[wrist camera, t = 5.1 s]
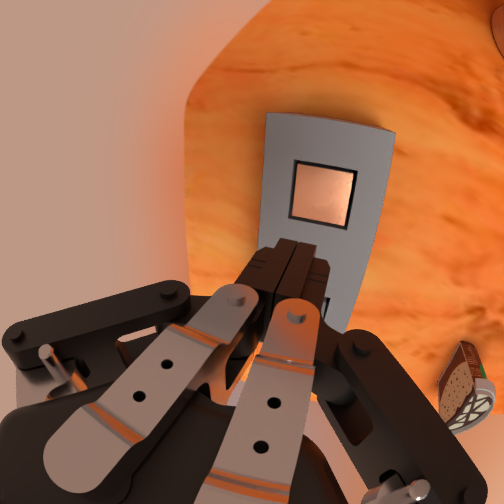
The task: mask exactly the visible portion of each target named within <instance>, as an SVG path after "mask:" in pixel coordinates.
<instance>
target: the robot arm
mask: <svg viewBox="0 0 504 504" xmlns="http://www.w3.org/2000/svg"><path fill="white" fill-rule="evenodd" d="M491 24H492V31H493V35H494V39H495V41H496V44H497V46H498V48H499V50H500V52H501V54H502V55H503V57H504V5H503V6H501V7H499V8H498V9H497V10H495V11H494V13H493V15H492V21H491ZM316 249H317V245H313V244H309V243H304V242H299V243H298V241H295V240H290V239H285V238H280V239H279V241H278V242H277V244H276V246H275V247H274V248H270V247H266V246H265V247H264V248H262V249H260V250H258V251H256V253H255V254H254V255H253V257H252V258H251V260H250V261H249V263H248V264H247V266H246V267H245V268H244V270H243V271H242V273H241V274H240V276H239V277H238V278H237V280H236V281H235V283H234V284H228V285H225V286H223V287H221V288H219V289H218V290H217V291H216V292H215V293H214V294H213V295H212V296H194V295H190V290H189V287H188V286H187V285H186V284H185V283H183V282H180V281H176V280H166V281H162V282H158V283H155V284H151V285H148V286H144V287H141V288H137V289H134V290H130V291H127V292H124V293H120V294H116V295H113V296H109V297H106V298H102V299H99V300H95V301H92V302H88V303H85V304H81V305H78V306H74V307H71V308H67V309H63V310H60V311H56V312H53V313H49V314H45V315H42V316H39V317H35V318H32V319H28V320H24V321H20V322H17V323H15V324H13V325H12V326H10V327H9V328H8V329H7V330H6V332H5V333H4V335H3V338H2V346H3V348H4V350H5V351H6V353H7V354H8V355H9V357H10V358H11V360H12V361H13V363H14V365H15V367H16V398H17V409H15V410H13V411H12V412H10V413H9V414H7V415H6V416H5V417H4V419H3V420H2V422H1V423H0V504H348V502H347V500H346V498H345V496H344V494H343V492H342V490H341V488H340V486H339V484H338V482H337V480H336V478H335V476H334V474H333V472H332V470H331V468H330V466H329V464H328V462H327V460H326V458H325V456H324V454H323V453H322V452H321V450H320V449H319V448H318V447H317V445H316V444H315V443H314V442H313V441H311V440H310V439H309V438H308V437H307V436H305V435H304V434H303V431H304V426H305V422H306V416H307V412H308V406H309V401H310V396H311V392H313V393H314V394H316V395H317V400H318V403H319V404H320V406H321V408H322V410H323V411H324V413H325V415H326V417H327V419H328V420H329V422H330V424H331V426H332V427H333V429H334V431H335V433H336V435H337V436H338V438H339V440H340V442H341V443H342V445H343V447H344V448H345V450H346V452H347V453H348V455H349V457H350V459H351V461H352V462H353V464H354V466H355V467H356V469H357V471H358V473H359V474H360V476H361V478H362V479H363V481H364V483H365V485H366V486H367V488H368V489H369V490H368V492H367V493H366V494H365V495H364V497H363V498H362V501H361V504H485V502H486V499H487V494H488V488H487V484H486V481H485V479H484V478H483V476H482V475H481V473H480V472H479V471H478V469H477V467H476V466H475V464H474V463H473V461H472V460H471V459H470V457H469V456H468V454H467V453H466V451H465V450H464V448H463V447H462V446H461V444H460V443H459V442H458V440H457V439H456V437H455V436H454V434H453V433H452V432H451V430H450V429H449V427H448V426H447V425H446V423H445V422H444V421H443V419H442V418H441V417H440V415H439V414H438V413H437V411H436V410H435V409H434V407H433V406H432V405H431V403H430V402H429V401H428V399H427V398H426V397H425V395H424V394H423V393H422V392H421V390H420V389H419V388H418V386H417V385H416V384H415V383H414V381H413V380H412V379H411V377H410V376H409V375H408V374H407V372H406V371H405V370H404V369H403V367H402V366H401V365H400V364H399V362H398V361H397V360H396V359H395V357H394V356H393V355H392V354H391V352H390V351H389V350H388V349H387V348H386V346H385V345H384V344H383V343H382V341H381V340H380V339H379V338H378V337H377V336H376V335H374V334H373V333H371V332H368V331H365V330H361V329H354V330H349V331H347V332H345V333H344V334H342V333H340V332H338V331H336V330H334V329H332V328H331V327H330V326H328V325H327V324H326V322H325V321H324V320H323V318H322V315H321V309H322V305H323V301H324V296H325V292H326V287H327V283H328V278H329V273H330V269H331V268H330V266H329V264H328V261H327V260H325V259H320V258H316V257H315V254H316ZM152 326H155V328H156V331H157V332H156V333H153V334H150V335H147V336H144V337H140V338H137V339H134V340H131V341H128V342H120V341H118V340H117V339H118V338H119V337H121V336H123V335H126V334H130V333H133V332H136V331H140V330H142V329H146V328H149V327H152ZM259 341H260V342H263V345H262V348H261V351H260V353H259V355H258V354H257V355H256V356H255V358H254V360H253V363H252V366H251V369H250V371H249V374H248V377H247V379H246V382H245V385H244V388H243V390H242V393H241V396H240V398H239V401H238V404H237V406H236V407H235V406H227V402H228V399H229V397H230V395H231V393H232V392H233V390H234V389H235V387H236V385H237V384H238V382H239V380H240V379H241V377H242V375H243V374H244V372H245V371H246V369H247V367H248V366H249V364H250V362H251V360H252V359H253V356H254V351H255V349H256V347H257V345H258V343H259Z"/></svg>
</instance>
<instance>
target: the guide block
mask: <svg viewBox="0 0 504 504" xmlns="http://www.w3.org/2000/svg"><path fill="white" fill-rule="evenodd" d="M395 134H396V133H394V132H392V131H390V130H387V129H385V128H382V127H378V126H373V125H369V124H364V123H359V122H354V121H348V120H342V119H336V118H330V117H324V116H316V115H309V114H301V113H292V112H269V113H267V114H266V130H265V146H264V162H263V177H262V192H261V207H260V222H259V236H258V250H260V249H262V248H264V247H265V246H266V247H270V248H274V247H275V246H276V244H277V242H278V241H279V239H280V238H285V239H290V240H295V241H298V243H299V242H304V243H309V244H313V245H317V249H316V254H315V257H316V258H320V259H325V260H327V261H328V264H329V266H330V268H331V269H330V273H329V278H328V283H327V287H326V292H325V296H324V297H327V301H326V306H325V311H324V315H323V320H324V321H325V322H326V324H327V325H328V326H330V327H331V328H332V329H334V330H336V331H338V332H340V333H342V334H344V333H345V330H346V328H347V325H348V322H349V319H350V316H351V314H352V311H353V308H354V305H355V302H356V299H357V296H358V293H359V290H360V287H361V284H362V280H363V277H364V274H365V270H366V267H367V264H368V260H369V257H370V253H371V250H372V246H373V242H374V238H375V235H376V231H377V227H378V223H379V218H380V214H381V210H382V206H383V201H384V196H385V192H386V187H387V182H388V177H389V171H390V166H391V160H392V154H393V148H394V141H395ZM300 161H308V162H314V163H320V164H326V165H331V166H337V167H342V168H347V169H352V170H354V172H353V180H352V186H351V191H350V197H349V203H348V208H347V213H346V218H345V223H344V226H342V225H337V224H332V223H328V222H323V221H318V220H313V219H308V218H302V217H297V216H292V211H293V203H294V194H295V184H296V175H297V165H298V163H299V162H300ZM259 342H260V341H259ZM261 343H263V342H261Z"/></svg>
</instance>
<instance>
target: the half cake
mask: <svg viewBox="0 0 504 504" xmlns="http://www.w3.org/2000/svg"><path fill="white" fill-rule="evenodd" d="M438 402H439V415H440V417H441V418H442V419H443V421H444V422H445V423H446V425H447V426H448V427H449V429H450V430H451V432H452V433H453V434H454V435H456V434H459V433H462V432H464V431H467V430H469V429H471V428H473V427H474V426H476V425H477V424H479V423H480V422H482V421H483V420H484V419H485V418H486V417H487V416H488V415H489V414H490V413H491V411H492V409H493V407H494V402H495V386H494V384H493V383H492V382H491V381H489V380H488V379H487V377H486V374H485V371H484V368H483V366H482V363H481V360H480V358H479V355H478V353H477V350H476V348H475V347H474V345H472V344H471V343H469V342H465V341H460V342H459V344H458V346H457V348H456V350H455V352H454V354H453V356H452V358H451V359H450V361H449V363H448V365H447V367H446V368H445V370H444V372H443V374H442V375H441V377H440V379H439V380H438Z"/></svg>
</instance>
